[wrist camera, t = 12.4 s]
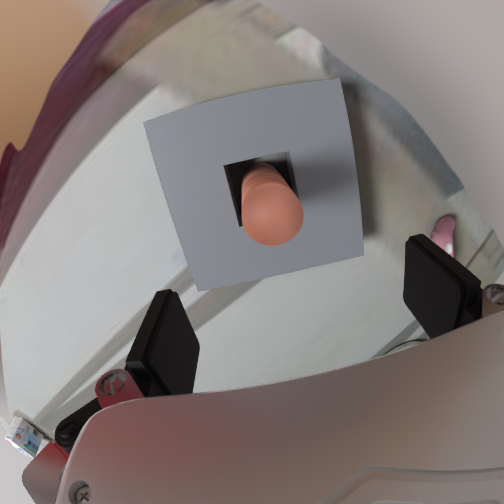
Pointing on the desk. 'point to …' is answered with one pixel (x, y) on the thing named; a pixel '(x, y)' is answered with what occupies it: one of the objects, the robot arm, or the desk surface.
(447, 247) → the video game controller
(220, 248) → the socket plate
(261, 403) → the robot arm
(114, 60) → the desk surface
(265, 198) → the dowel
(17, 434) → the light bulb box
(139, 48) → the desk surface
